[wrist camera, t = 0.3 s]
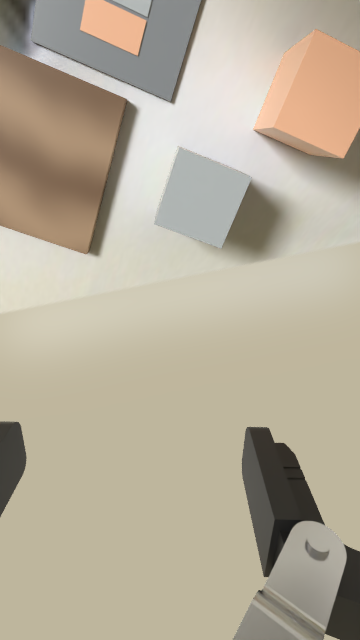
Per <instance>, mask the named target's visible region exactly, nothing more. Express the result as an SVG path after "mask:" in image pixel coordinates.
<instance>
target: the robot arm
mask: <svg viewBox="0 0 360 640" xmlns="http://www.w3.org/2000/svg"><path fill="white" fill-rule="evenodd" d="M25 466H26V452H25V446H24V441H23V436H22V431H21V426H20V424H19V422H0V516H1V514H2V513H3V511H4V509H5V507H6V505H7V503H8V501H9V499H10V497H11V495H12V494H13V492H14V490H15V488H16V486H17V484H18V482H19V481H20V479H21V477H22V475H23V472H24V470H25ZM242 475H243V481H244V485H245V490H246V495H247V500H248V505H249V509H250V514H251V518H252V523H253V528H254V533H255V537H256V542H257V547H258V551H259V556H260V561H261V565H262V570H263V575H264V577H269V578H268V580H267V582H266V584H265V586H264V588H263V589H262V591H260V590H259V591H258V592H257V593H256V595H255V597H254V598H253V600H252V602H251V604H250V606H249V608H248V610H247V612H246V614H245V616H244V618H243V620H242V622H241V624H240V626H239V628H238V630H237V632H236V634H235V636H234V638H233V640H323V639H324V634H327V635H330V636H332V637H335V638H337V639H340V640H360V552H359V551H357V550H354V549H352V548H350V547H348V546H346V545H344V544H343V543H342V541H341V540H340V538H339V537H338V536H337V535H336V534H335V533H334V532H333V531H332V530H331V529H330V528H328V527H326V526H325V524H324V522H323V520H322V517H321V515H320V513H319V510H318V508H317V505H316V503H315V501H314V498H313V496H312V494H311V491H310V489H309V486H308V484H307V482H306V481H305V477H304V475H303V472H302V470H301V469H300V465H299V463H298V460H297V458H296V456H295V454H294V453H293V452H292V451H291V450H290V449H289V447H287V445H286V444H284V443H274V440H273V438H272V435H271V432H270V430H269V428H267V427H264V428H263V427H247V429H246V433H245V441H244V449H243V458H242Z"/></svg>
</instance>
